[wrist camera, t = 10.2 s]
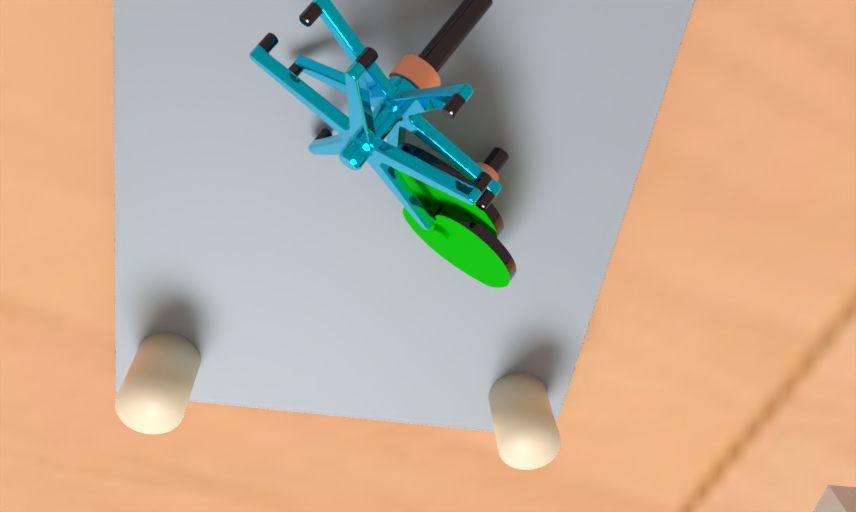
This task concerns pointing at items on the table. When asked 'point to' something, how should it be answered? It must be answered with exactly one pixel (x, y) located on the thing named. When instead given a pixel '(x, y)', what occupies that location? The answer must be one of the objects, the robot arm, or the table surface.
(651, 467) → the table surface
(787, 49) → the table surface
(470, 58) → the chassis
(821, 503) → the robot arm
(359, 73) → the teal multi-armed frame
